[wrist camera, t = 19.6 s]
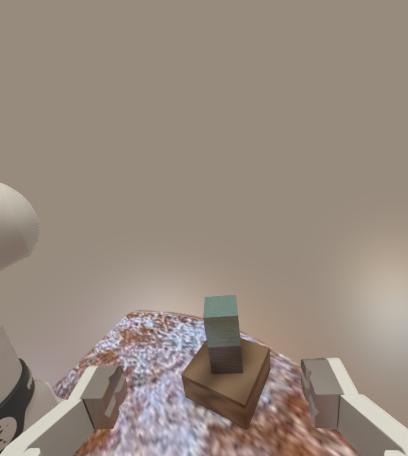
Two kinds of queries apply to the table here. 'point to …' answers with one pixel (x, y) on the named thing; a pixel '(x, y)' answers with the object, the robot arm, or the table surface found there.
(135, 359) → the table surface
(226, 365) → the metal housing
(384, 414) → the robot arm
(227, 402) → the walnut stand
